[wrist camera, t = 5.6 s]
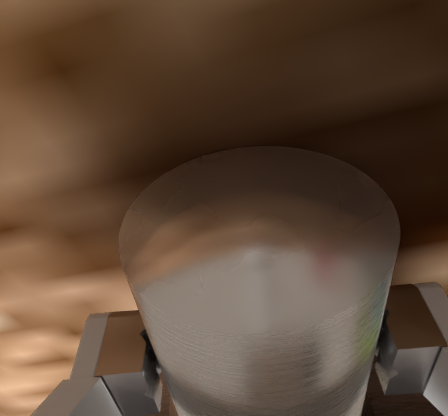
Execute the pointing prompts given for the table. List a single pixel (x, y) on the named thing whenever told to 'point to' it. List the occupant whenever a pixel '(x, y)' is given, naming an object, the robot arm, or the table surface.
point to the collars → (372, 408)
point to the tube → (262, 280)
